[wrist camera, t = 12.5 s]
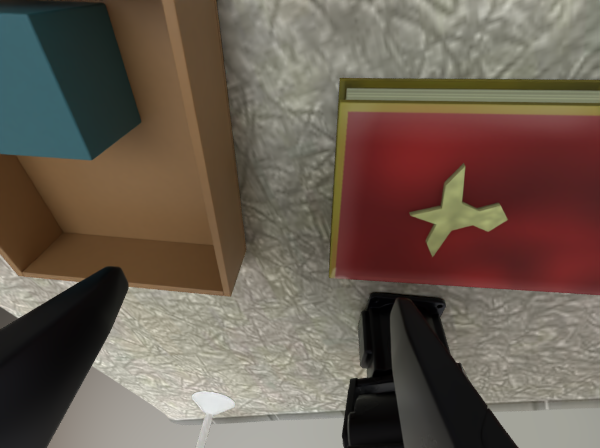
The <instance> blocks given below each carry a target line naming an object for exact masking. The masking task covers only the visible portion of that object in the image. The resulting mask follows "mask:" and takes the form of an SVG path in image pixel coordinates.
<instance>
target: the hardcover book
mask: <svg viewBox="0 0 600 448" xmlns="http://www.w3.org/2000/svg"><path fill="white" fill-rule="evenodd" d="M329 278H337V279H353V280H369V281H385V282H401V283H416V284H432V285H448V286H464V287H480V288H496V289H511V290H527V291H543V292H559V293H575V294H590V295H600V80H530V79H388V78H340V85H339V101H338V118H337V135H336V152H335V169H334V186H333V203H332V219H331V236H330V261H329Z"/></svg>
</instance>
